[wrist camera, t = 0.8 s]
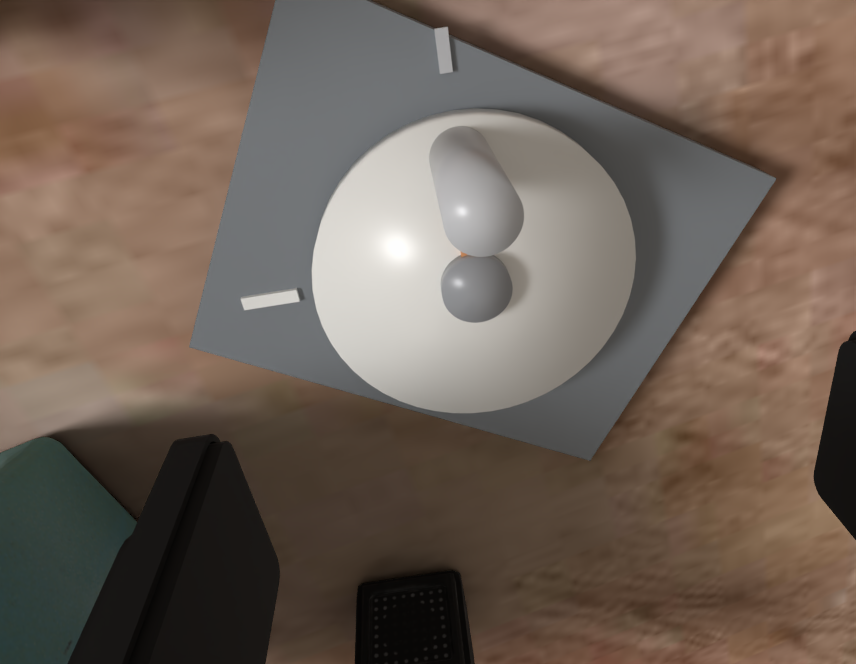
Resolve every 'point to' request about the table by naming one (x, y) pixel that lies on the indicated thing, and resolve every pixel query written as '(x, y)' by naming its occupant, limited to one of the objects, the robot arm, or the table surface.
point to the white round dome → (472, 261)
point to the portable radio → (413, 621)
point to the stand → (405, 103)
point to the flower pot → (52, 550)
